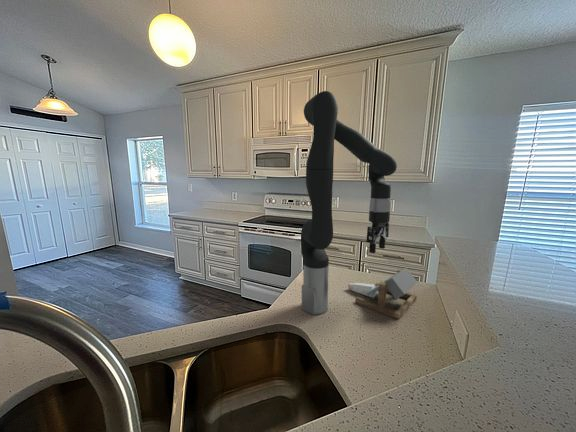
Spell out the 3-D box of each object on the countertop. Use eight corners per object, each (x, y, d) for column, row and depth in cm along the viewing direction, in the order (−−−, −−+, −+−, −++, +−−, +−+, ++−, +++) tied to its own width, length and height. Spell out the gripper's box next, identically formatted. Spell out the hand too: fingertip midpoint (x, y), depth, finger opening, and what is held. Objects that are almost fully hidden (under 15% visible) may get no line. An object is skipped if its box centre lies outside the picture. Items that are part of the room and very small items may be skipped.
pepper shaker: (370, 298, 97) (345, 292, 104) (376, 297, 101) (351, 292, 108) (371, 284, 98) (346, 279, 105) (377, 284, 101) (352, 279, 109)
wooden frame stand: (398, 319, 84) (400, 289, 82) (355, 302, 96) (356, 276, 94) (416, 299, 97) (418, 273, 96) (376, 287, 109) (377, 263, 107)
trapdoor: (404, 294, 84) (391, 277, 87) (377, 309, 92) (366, 293, 94) (417, 282, 94) (405, 267, 96) (392, 296, 102) (381, 282, 104)
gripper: (378, 207, 102) (376, 245, 104) (361, 210, 92) (359, 252, 94) (396, 209, 96) (393, 248, 99) (381, 212, 86) (378, 256, 89)
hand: (377, 250), depth 97 cm, fingers open, 8 cm apart
